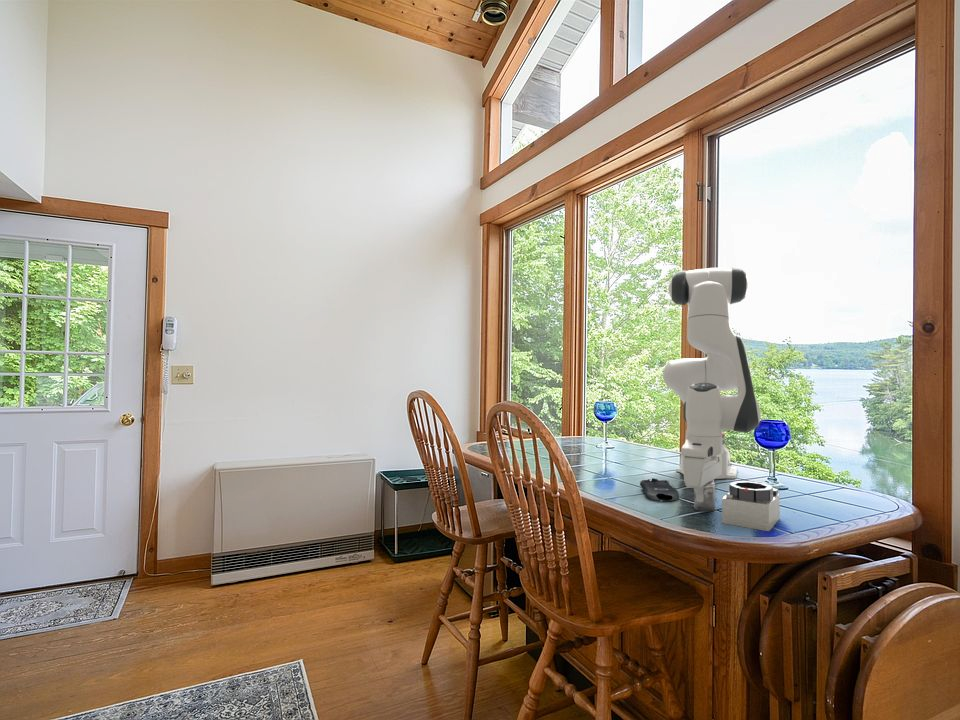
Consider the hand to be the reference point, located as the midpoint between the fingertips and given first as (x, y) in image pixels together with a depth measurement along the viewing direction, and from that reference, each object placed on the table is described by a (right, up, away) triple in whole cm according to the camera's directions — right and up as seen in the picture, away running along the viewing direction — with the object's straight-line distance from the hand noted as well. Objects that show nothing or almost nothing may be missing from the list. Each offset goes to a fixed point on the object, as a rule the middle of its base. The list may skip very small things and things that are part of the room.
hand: (704, 498), depth 140 cm
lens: (0, -3, 0) cm, 3 cm away
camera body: (+7, -3, -11) cm, 13 cm away
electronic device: (-7, -3, +14) cm, 16 cm away
